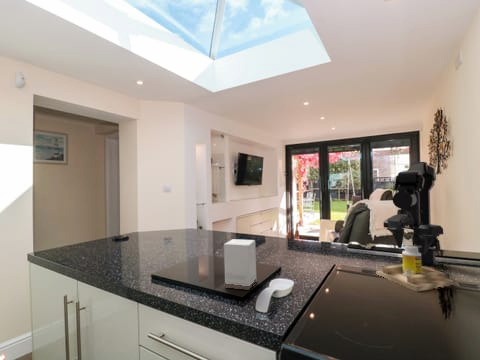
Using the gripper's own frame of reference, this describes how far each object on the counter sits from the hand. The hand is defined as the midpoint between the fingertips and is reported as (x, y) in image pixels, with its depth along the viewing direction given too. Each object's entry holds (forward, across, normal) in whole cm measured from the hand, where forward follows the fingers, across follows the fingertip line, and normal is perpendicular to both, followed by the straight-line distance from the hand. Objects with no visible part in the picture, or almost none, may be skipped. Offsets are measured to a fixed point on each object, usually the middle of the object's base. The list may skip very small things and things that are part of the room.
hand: (411, 251), depth 90 cm
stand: (+10, 0, 0) cm, 10 cm away
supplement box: (+11, -15, -59) cm, 62 cm away
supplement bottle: (+9, 0, 0) cm, 9 cm away
